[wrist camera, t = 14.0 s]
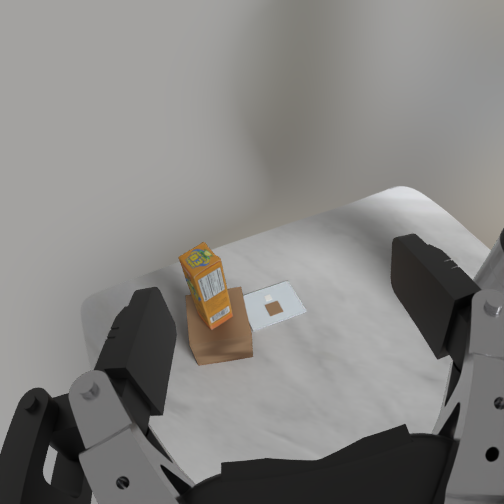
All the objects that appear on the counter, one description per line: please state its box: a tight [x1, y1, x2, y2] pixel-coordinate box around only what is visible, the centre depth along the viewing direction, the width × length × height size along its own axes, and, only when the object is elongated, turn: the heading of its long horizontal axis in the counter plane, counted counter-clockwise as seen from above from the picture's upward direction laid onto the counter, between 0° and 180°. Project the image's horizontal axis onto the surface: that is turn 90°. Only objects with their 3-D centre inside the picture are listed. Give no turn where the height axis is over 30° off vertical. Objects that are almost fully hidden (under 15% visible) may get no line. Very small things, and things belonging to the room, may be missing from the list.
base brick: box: [186, 287, 253, 365], centre depth 37 cm, size 7×7×6 cm
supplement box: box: [179, 242, 233, 330], centre depth 31 cm, size 3×3×10 cm
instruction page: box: [243, 281, 306, 331], centre depth 42 cm, size 8×6×1 cm
